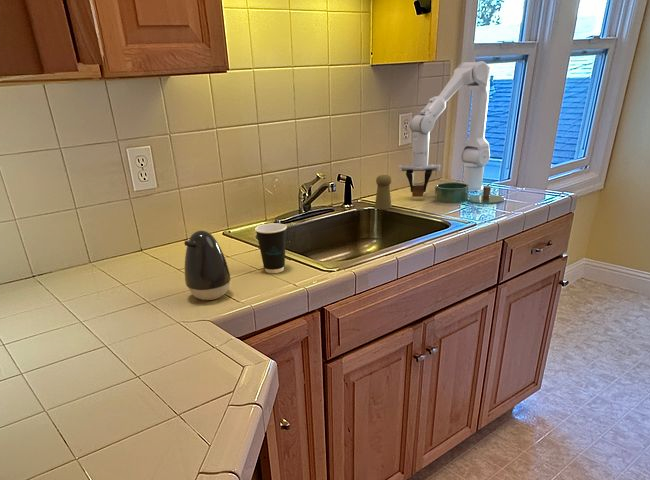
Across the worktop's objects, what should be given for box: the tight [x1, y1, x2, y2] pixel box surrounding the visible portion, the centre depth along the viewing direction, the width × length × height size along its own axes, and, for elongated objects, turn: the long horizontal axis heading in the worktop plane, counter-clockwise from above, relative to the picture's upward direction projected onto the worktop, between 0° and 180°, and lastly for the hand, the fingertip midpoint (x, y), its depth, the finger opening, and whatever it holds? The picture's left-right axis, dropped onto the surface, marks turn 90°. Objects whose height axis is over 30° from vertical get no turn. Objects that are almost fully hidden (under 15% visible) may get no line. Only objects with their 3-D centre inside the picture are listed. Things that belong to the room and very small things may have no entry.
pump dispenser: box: [183, 230, 232, 301], centre depth 112 cm, size 10×10×15 cm
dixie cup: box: [254, 222, 288, 274], centre depth 126 cm, size 8×8×11 cm
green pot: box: [434, 182, 469, 205], centre depth 180 cm, size 11×11×6 cm
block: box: [411, 182, 425, 198], centre depth 185 cm, size 4×4×4 cm
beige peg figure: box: [374, 174, 393, 210], centre depth 177 cm, size 6×6×11 cm
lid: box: [467, 185, 505, 205], centre depth 177 cm, size 12×12×5 cm
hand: (418, 191), depth 185 cm, fingers closed on block, 4 cm apart
